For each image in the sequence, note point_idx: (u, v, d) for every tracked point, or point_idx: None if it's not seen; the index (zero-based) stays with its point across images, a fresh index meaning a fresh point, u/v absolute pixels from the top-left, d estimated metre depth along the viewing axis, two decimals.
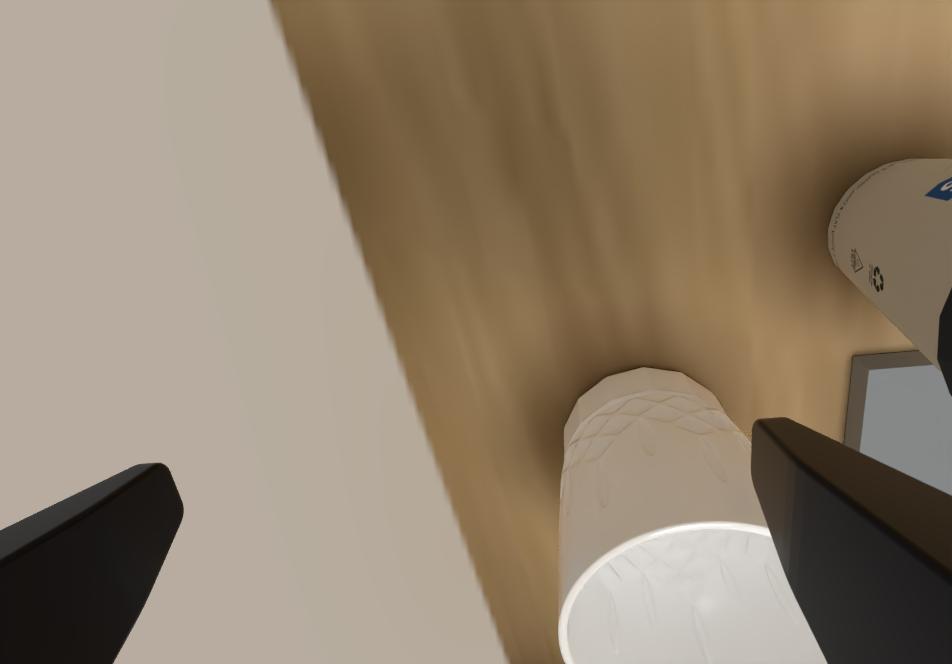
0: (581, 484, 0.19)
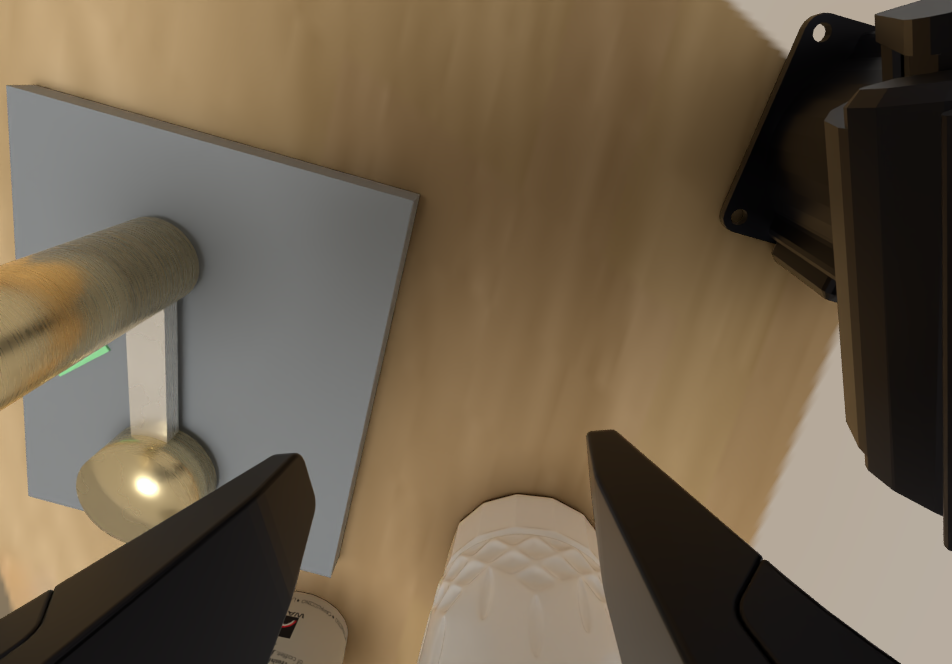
0: None
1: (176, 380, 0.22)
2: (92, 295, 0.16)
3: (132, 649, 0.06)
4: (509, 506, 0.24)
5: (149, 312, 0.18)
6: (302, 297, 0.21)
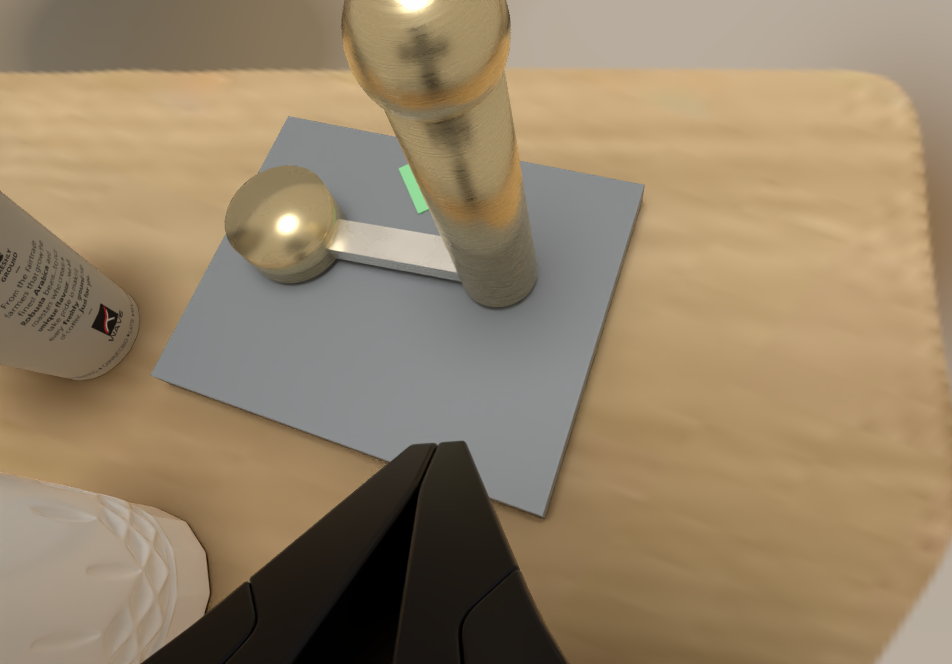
0: None
1: (386, 266, 0.24)
2: (489, 239, 0.18)
3: (337, 643, 0.06)
4: (198, 586, 0.22)
5: (461, 268, 0.21)
6: (455, 394, 0.22)
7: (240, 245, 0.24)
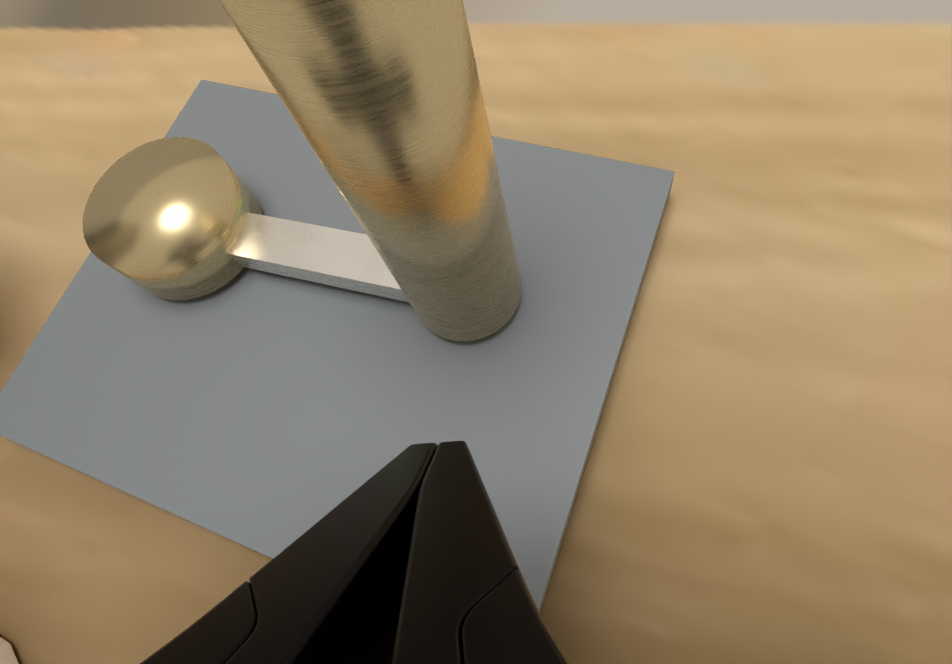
0: None
1: (310, 279, 0.17)
2: (437, 239, 0.11)
3: (337, 644, 0.06)
4: None
5: (402, 285, 0.14)
6: None
7: (99, 246, 0.17)
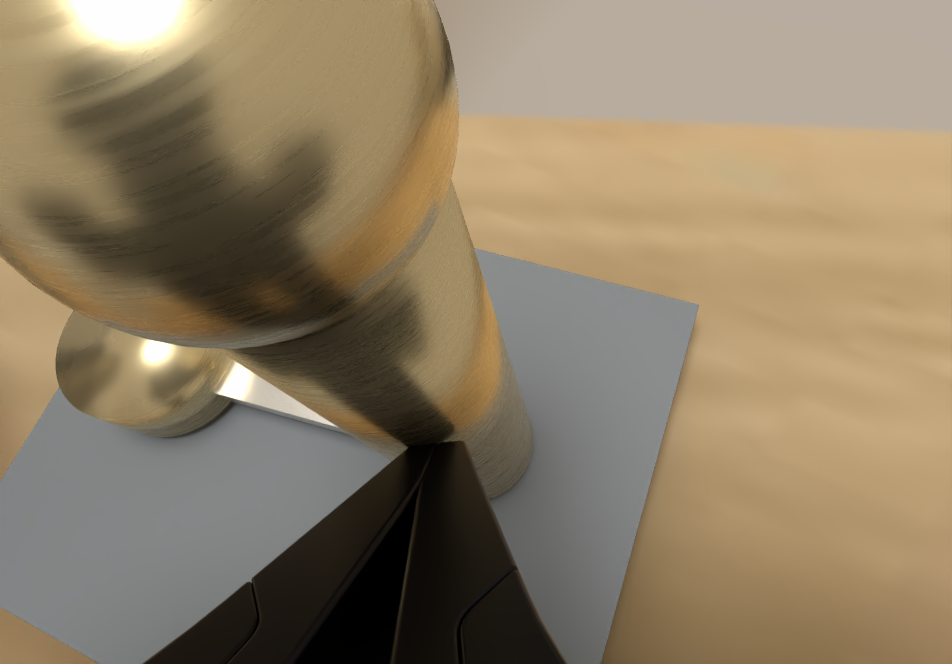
0: None
1: (302, 419, 0.16)
2: None
3: (339, 643, 0.06)
4: None
5: None
6: None
7: (73, 389, 0.15)
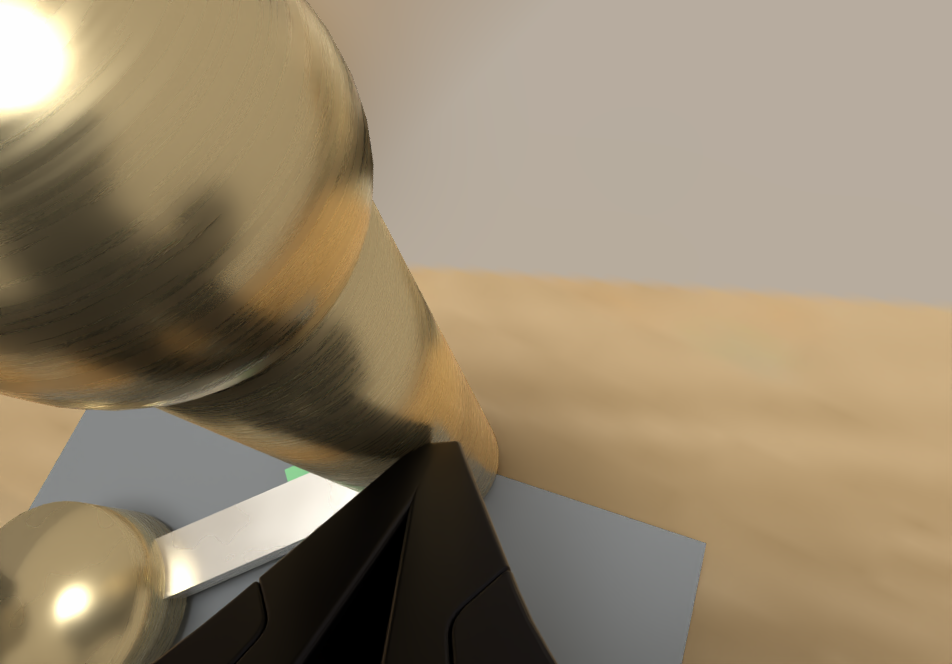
0: None
1: (272, 557, 0.15)
2: None
3: (347, 644, 0.06)
4: None
5: None
6: None
7: None
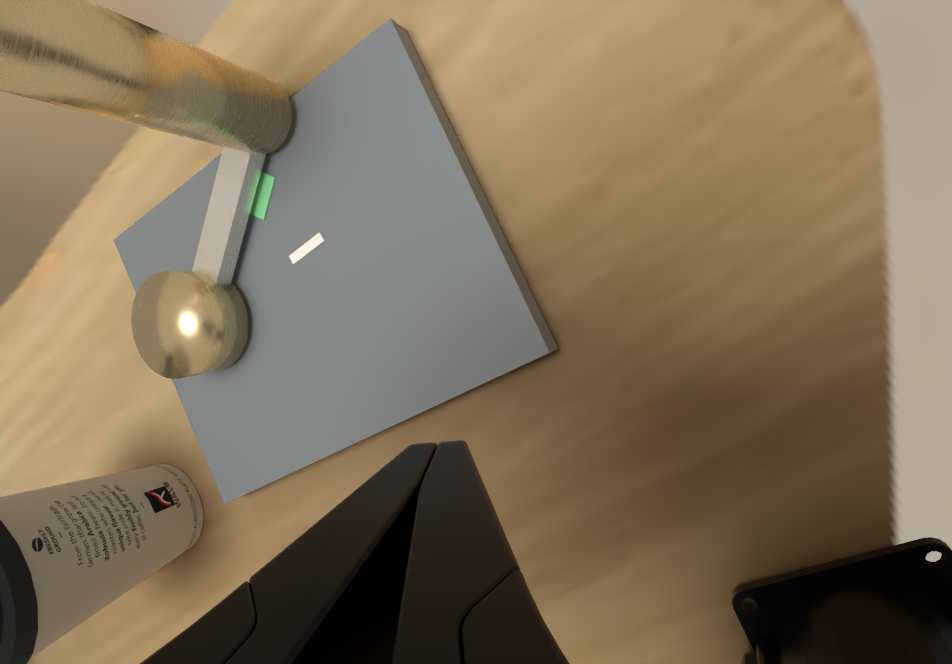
0: None
1: (244, 231, 0.25)
2: (184, 66, 0.19)
3: (337, 643, 0.06)
4: None
5: (231, 126, 0.21)
6: (414, 325, 0.23)
7: (194, 363, 0.24)
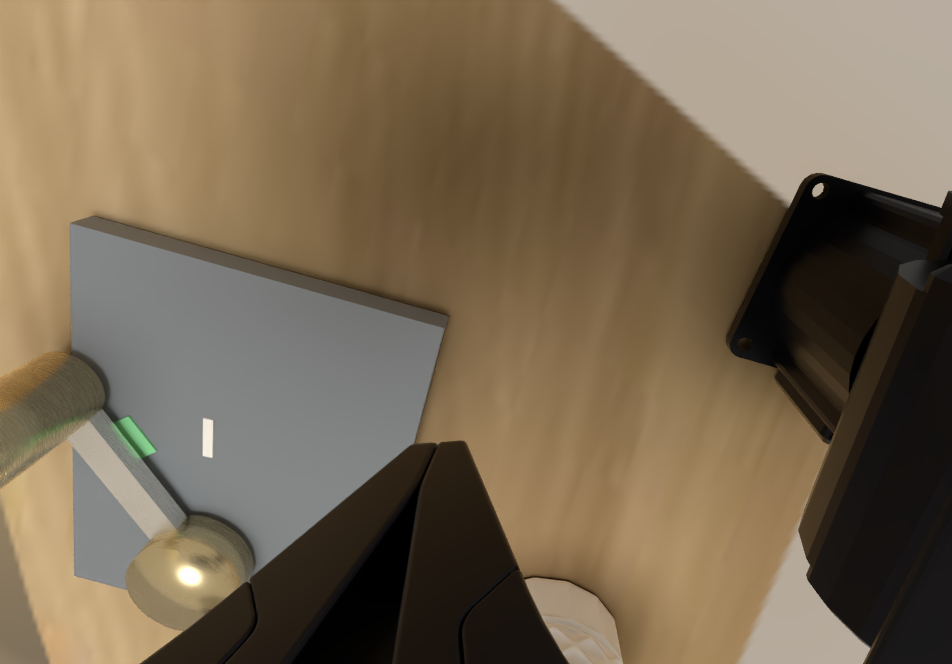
0: None
1: (152, 474, 0.24)
2: None
3: (337, 644, 0.06)
4: None
5: (50, 425, 0.20)
6: (339, 408, 0.23)
7: (225, 596, 0.24)
